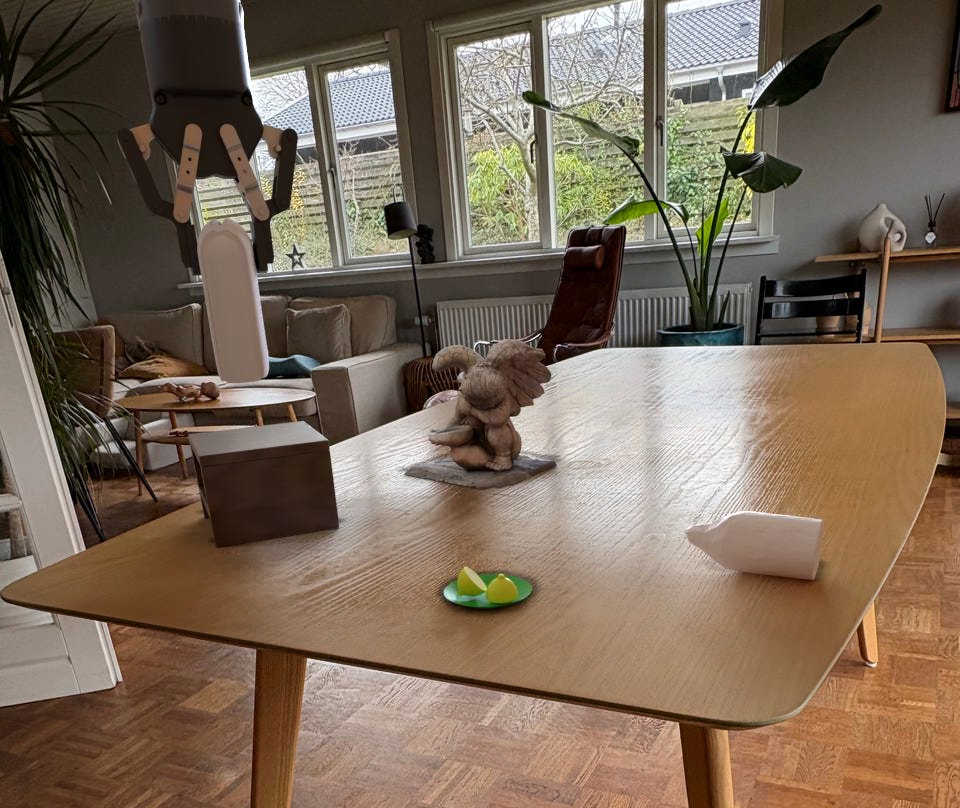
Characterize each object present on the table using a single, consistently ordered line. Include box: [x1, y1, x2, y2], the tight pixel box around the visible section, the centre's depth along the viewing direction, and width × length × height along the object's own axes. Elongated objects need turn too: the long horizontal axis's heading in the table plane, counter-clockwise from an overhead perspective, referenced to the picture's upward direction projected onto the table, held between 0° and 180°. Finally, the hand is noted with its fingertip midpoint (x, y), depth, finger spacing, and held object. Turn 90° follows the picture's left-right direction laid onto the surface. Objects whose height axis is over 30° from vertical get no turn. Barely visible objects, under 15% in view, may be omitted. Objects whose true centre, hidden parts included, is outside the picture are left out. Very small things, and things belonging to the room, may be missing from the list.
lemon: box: [443, 566, 533, 610], centre depth 75 cm, size 8×8×3 cm
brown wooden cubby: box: [187, 420, 340, 548], centre depth 99 cm, size 14×14×10 cm
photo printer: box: [197, 217, 270, 384], centre depth 70 cm, size 10×4×12 cm, turn 12°
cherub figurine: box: [403, 338, 557, 490], centre depth 116 cm, size 18×18×18 cm
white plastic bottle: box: [684, 510, 825, 581], centre depth 77 cm, size 6×12×6 cm, turn 63°
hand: (229, 272), depth 69 cm, fingers closed on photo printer, 4 cm apart
